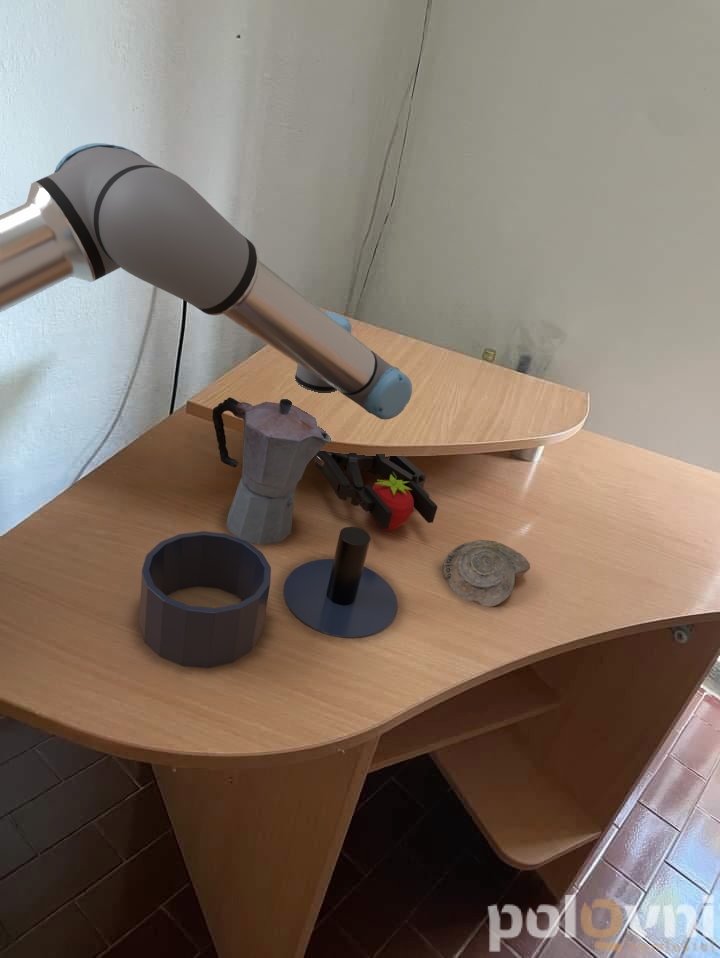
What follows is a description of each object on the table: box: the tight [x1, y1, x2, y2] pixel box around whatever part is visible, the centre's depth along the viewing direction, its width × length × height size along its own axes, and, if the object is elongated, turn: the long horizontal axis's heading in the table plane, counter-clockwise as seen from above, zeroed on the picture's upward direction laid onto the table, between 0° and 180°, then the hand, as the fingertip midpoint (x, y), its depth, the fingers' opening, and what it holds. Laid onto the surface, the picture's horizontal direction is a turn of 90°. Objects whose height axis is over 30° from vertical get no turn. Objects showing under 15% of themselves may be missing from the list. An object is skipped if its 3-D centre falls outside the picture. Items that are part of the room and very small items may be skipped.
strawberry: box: [371, 472, 415, 532], centre depth 97 cm, size 6×8×10 cm
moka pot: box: [212, 397, 331, 546], centre depth 89 cm, size 10×15×20 cm, turn 81°
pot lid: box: [282, 526, 399, 639], centre depth 82 cm, size 14×14×10 cm
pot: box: [138, 530, 272, 669], centre depth 75 cm, size 13×13×8 cm
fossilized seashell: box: [442, 539, 531, 608], centre depth 92 cm, size 11×11×7 cm
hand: (410, 517), depth 93 cm, fingers open, 6 cm apart
